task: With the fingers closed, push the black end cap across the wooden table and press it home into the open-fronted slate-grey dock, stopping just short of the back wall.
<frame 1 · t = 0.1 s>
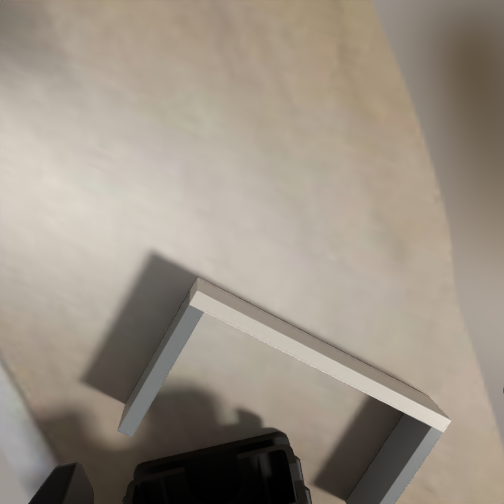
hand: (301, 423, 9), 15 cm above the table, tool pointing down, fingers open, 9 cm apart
end cap: (221, 494, 28), on the table
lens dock: (281, 402, 27), on the table
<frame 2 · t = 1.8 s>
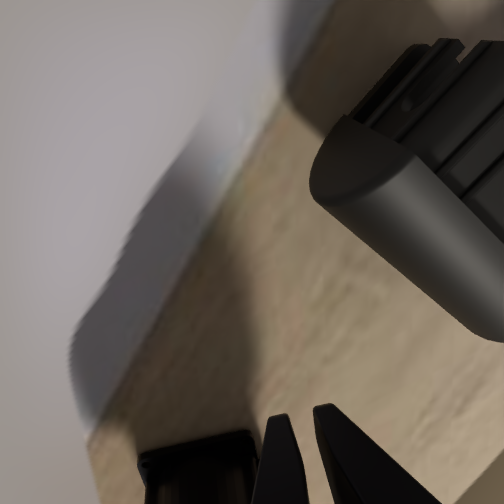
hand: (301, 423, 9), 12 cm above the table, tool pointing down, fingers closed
end cap: (417, 173, 21), on the table
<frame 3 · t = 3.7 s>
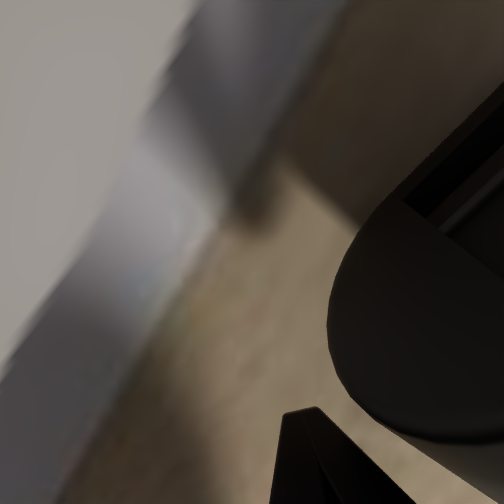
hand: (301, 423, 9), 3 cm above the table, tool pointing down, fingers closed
end cap: (498, 277, 13), on the table
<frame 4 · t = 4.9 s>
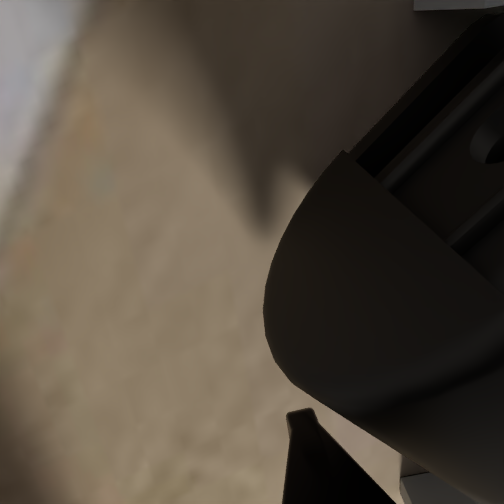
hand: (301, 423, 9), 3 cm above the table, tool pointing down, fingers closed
end cap: (473, 248, 12), on the table, touching gripper, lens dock
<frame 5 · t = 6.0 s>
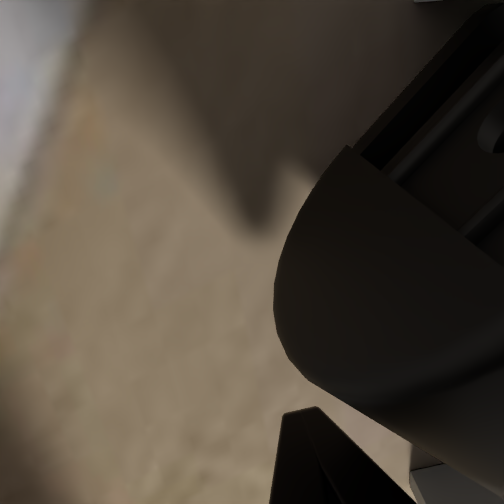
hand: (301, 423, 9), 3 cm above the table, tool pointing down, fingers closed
end cap: (477, 240, 12), on the table, touching gripper, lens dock
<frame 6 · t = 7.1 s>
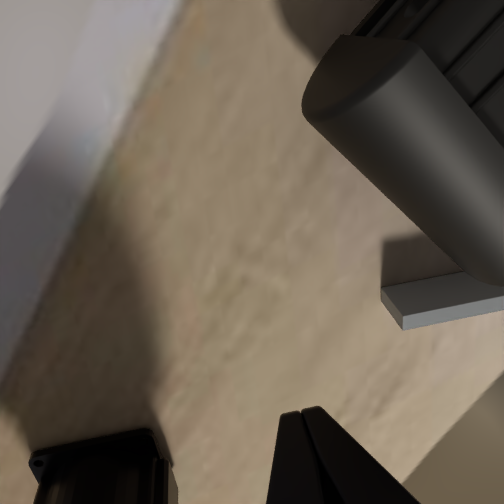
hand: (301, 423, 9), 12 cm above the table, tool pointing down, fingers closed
end cap: (419, 111, 20), on the table
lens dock: (469, 133, 20), on the table
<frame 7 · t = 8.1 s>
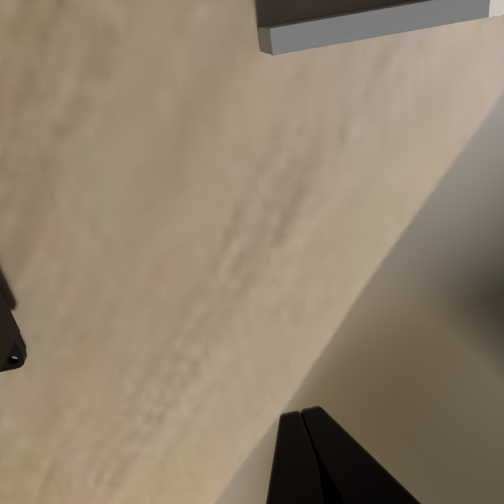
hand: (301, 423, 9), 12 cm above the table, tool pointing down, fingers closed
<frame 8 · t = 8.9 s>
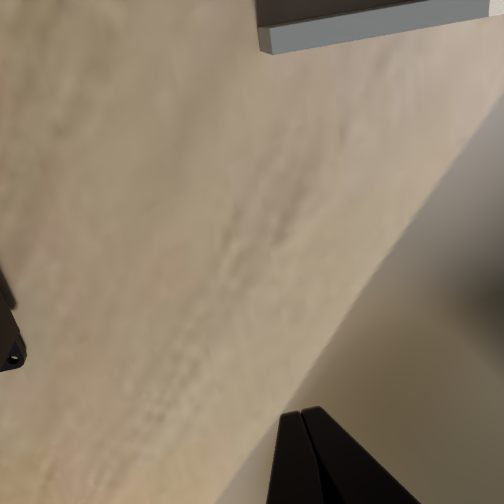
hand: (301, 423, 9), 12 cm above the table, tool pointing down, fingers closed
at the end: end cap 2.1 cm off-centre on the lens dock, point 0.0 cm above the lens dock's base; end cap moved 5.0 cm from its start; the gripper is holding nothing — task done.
